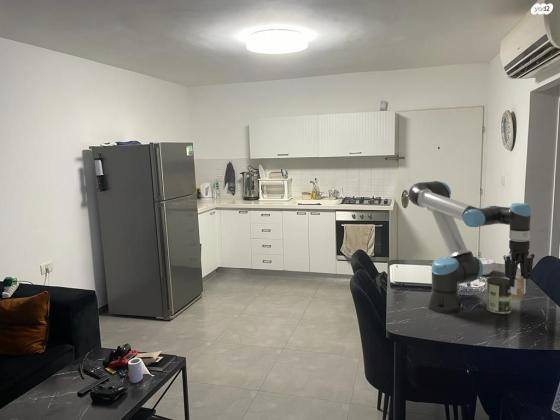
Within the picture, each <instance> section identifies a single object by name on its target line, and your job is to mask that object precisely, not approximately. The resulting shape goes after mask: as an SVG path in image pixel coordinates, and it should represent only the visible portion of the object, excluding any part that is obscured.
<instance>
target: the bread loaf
mask: <svg viewBox="0 0 560 420" xmlns="http://www.w3.org/2000/svg"><path fill="white" fill-rule="evenodd" d="M515 280H517V295H514V294H512V293H511V300H513V301H524V294H523V276H521V275H517V274H516V278H515Z"/></svg>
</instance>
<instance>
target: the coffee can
mask: <svg viewBox="0 0 560 420" xmlns="http://www.w3.org/2000/svg"><path fill="white" fill-rule="evenodd" d="M509 284H510V279H509V278H508V279H507V278H504V277H489V278H486V310H487V311H489V312H491V313H495V314H500V315H501V314H504V315H505V314H510V313H511V312H512V293H511V286H510V285H509Z"/></svg>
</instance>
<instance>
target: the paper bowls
mask: <svg viewBox="0 0 560 420" xmlns="http://www.w3.org/2000/svg"><path fill="white" fill-rule="evenodd" d="M477 258H478V259H480V261H481V262H482V265H483V273H482V275H481V276H488V275H490V274H491V273H492V271H495V270H496V261H495V260H494V259H492V258H487V257H477Z"/></svg>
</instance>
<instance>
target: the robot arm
mask: <svg viewBox="0 0 560 420" xmlns="http://www.w3.org/2000/svg"><path fill="white" fill-rule="evenodd" d="M451 195H452V190H451V189H450V187H449V185H448V184H447V183H446V182H445V181H439V180H434V181H425V182H424V181H423V182H417V183H414V184H413V185H411V186H410V188H409V190H408V198H409V201H410V202H411V203H412V204H414V205H415V206H416V207H417V206H418V207H420V208H422V209H423V208H427V211H429V212H431V213H432V216H433V218H434V220H435V222H436V224H437V225H436V226H437V229H438V230H439V232H440V235H441V238H442V240H443V242H444V245H445V247H446V250H447V252H448V257H440V258H436V259H434V260H433V261H432V262H431V263H432V265H431V292H430V294H429V298H428V300H427V307H428V309H430V308H431V309H430V310H432V309H433V310H432V311H434V310H435V311H434V312H437V311H438V312H439V313H444V314H454V313H459V312H460V311H462V310H463V309H462V306H463V305H462V301H461V298H460V295H459V285H461V284H467V283H472V282H475V281H477V280H479V279H480V278H481V277H482V276H483V275H482V273H483V265H482V262H481V261H480V259H478V258H479V257H476V256H474V255H473V252H472V251H471V250H469V249H468V248H467V246H466V243H465V242H464V238H463V237H462V234H461V232H460V230H459V227H458V225H457V223H456V220H455V219H458V221H462V222H463V223H464V224H465V225H466V226H467V227H469V228H479V227H484V226H491V225H492V226H493V225H497V224H499V225H507V226H509V235H508V236H509V239H510V240H509V241H508V244H509V245H508V249H509V252H508V254H507V255H505V254H504V255H503V256H502V257H503V260H504V277H505V279H507V278H508V280H510V284H509V285H510V286H511V295H512V294H514V295H517V280H515V278H516V275H517V272H518V267H519V269H520V276H523V295H525V294H526V289H527V288H526V286H527V285H528V280H529V279H530V278H532V276H533V275H532V274H533V267H534V266H533V264H534V259H535V257H536V255H535V254H534V253H531V252H530V245H531V244H530V243H531V242H530V239H531V216H532V213H531V211H532V210H531V205H530V204H529V203H526V202H525V203H523V202H522V203H521V202H519V203H518V202H515V203H511V204H510V205H509V206H510V207H506V206H498V205H487V206H486V207H483V208H480V207H479V208H478V207H476V206H473V205H470V204H467V203H464V202H463V201H462V202H461V201H459V200H455V199H453V198H451V197H452V196H451Z"/></svg>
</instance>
